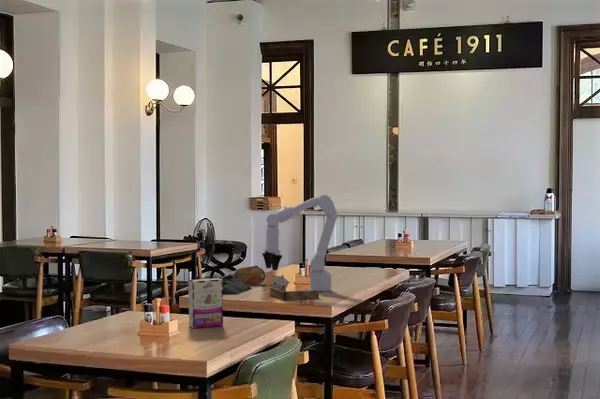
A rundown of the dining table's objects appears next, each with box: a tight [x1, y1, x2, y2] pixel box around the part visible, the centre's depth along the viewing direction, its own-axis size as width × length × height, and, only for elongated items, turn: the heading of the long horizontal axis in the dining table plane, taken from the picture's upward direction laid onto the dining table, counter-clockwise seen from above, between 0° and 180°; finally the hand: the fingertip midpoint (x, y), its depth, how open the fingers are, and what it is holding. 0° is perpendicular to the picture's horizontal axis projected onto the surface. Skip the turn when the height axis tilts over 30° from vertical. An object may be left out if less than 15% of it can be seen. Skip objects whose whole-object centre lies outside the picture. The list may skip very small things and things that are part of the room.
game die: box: [268, 274, 291, 292], centre depth 349 cm, size 9×8×10 cm
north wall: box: [282, 289, 320, 301], centre depth 331 cm, size 16×2×4 cm, turn 115°
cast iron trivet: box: [223, 278, 253, 296], centre depth 354 cm, size 15×22×5 cm
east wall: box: [269, 286, 288, 301], centre depth 334 cm, size 2×15×4 cm, turn 25°
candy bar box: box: [188, 277, 224, 329], centre depth 269 cm, size 11×5×16 cm, turn 117°
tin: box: [233, 266, 266, 286], centre depth 375 cm, size 15×3×8 cm, turn 102°
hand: (271, 269), depth 358 cm, fingers open, 7 cm apart
